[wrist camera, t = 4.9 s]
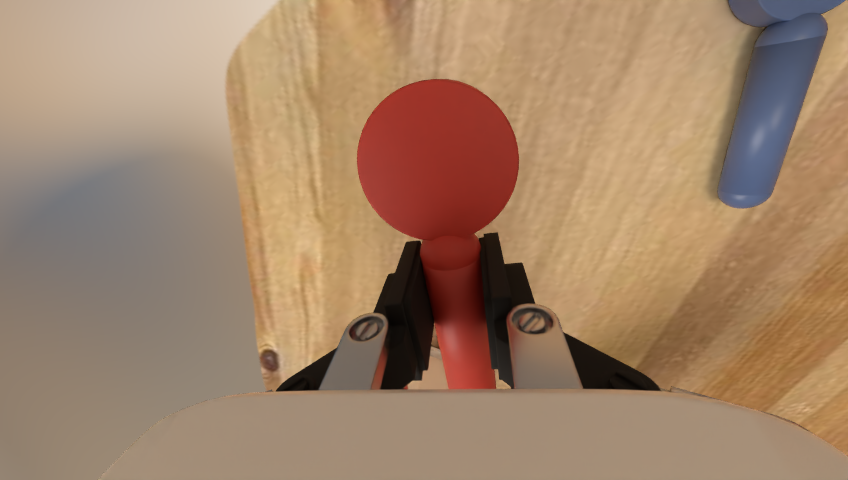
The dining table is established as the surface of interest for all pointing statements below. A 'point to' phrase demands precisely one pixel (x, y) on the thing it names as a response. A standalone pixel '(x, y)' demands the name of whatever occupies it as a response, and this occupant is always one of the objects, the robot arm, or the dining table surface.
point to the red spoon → (443, 202)
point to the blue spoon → (771, 93)
